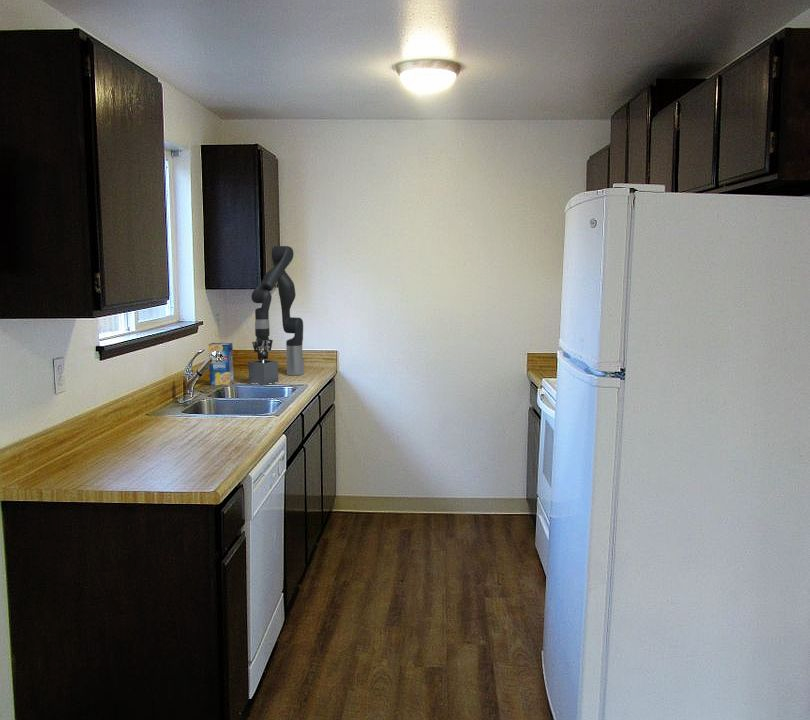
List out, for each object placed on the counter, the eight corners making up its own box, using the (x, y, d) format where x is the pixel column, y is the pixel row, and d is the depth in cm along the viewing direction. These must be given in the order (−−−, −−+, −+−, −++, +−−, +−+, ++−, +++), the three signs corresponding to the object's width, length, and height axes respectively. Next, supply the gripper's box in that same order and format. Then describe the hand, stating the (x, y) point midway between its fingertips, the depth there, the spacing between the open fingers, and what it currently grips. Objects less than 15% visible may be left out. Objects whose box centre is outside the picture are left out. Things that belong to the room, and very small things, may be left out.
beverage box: (230, 385, 392) (228, 344, 389) (209, 385, 392) (208, 344, 389) (233, 383, 399) (232, 342, 396) (213, 383, 399) (212, 342, 396)
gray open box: (263, 381, 406) (262, 359, 404) (278, 382, 400) (277, 361, 399) (249, 384, 397) (248, 361, 395) (264, 385, 391) (263, 363, 389)
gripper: (266, 326, 402) (266, 357, 405) (247, 328, 390) (248, 360, 393) (276, 326, 398) (277, 358, 401) (258, 328, 386) (259, 361, 389)
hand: (263, 359), depth 397 cm, fingers closed on plunger, 4 cm apart
